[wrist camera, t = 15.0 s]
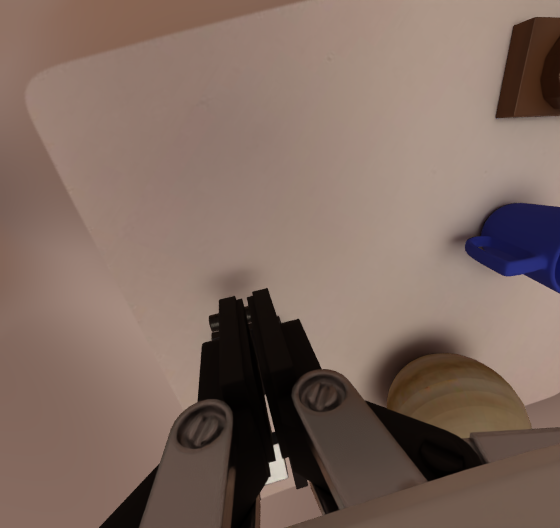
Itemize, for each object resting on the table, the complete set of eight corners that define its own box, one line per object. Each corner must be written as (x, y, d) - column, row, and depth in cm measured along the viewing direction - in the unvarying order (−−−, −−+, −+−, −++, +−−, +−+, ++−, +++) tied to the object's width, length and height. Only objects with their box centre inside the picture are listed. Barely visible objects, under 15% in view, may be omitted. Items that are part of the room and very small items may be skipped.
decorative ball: (452, 406, 48) (546, 512, 34) (362, 422, 45) (424, 543, 32) (473, 323, 42) (595, 410, 29) (371, 336, 40) (452, 438, 26)
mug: (443, 208, 35) (522, 231, 26) (536, 189, 36) (643, 205, 27) (439, 273, 38) (508, 313, 29) (525, 253, 40) (617, 287, 30)
